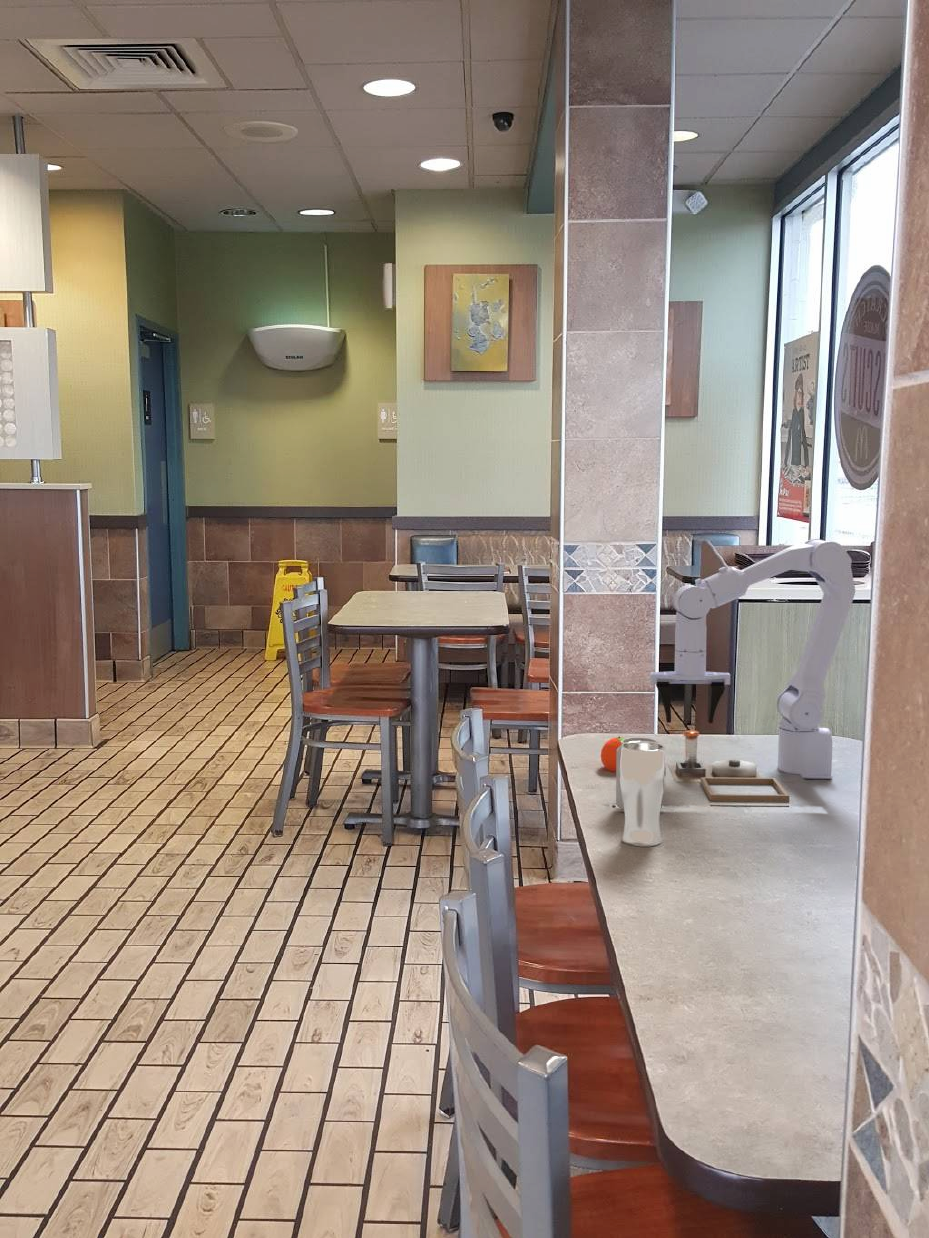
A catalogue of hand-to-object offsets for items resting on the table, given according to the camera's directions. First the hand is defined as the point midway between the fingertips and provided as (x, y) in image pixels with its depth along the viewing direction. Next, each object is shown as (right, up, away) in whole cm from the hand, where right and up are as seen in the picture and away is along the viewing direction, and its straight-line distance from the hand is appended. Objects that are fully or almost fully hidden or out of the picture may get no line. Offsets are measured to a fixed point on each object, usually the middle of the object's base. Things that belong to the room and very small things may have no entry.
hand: (689, 721), depth 210 cm
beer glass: (-15, -15, -37) cm, 42 cm away
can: (-13, -13, -21) cm, 28 cm away
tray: (+7, -12, -14) cm, 20 cm away
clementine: (-12, -10, +2) cm, 16 cm away
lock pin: (0, -9, -2) cm, 10 cm away
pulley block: (+4, -10, -2) cm, 11 cm away
